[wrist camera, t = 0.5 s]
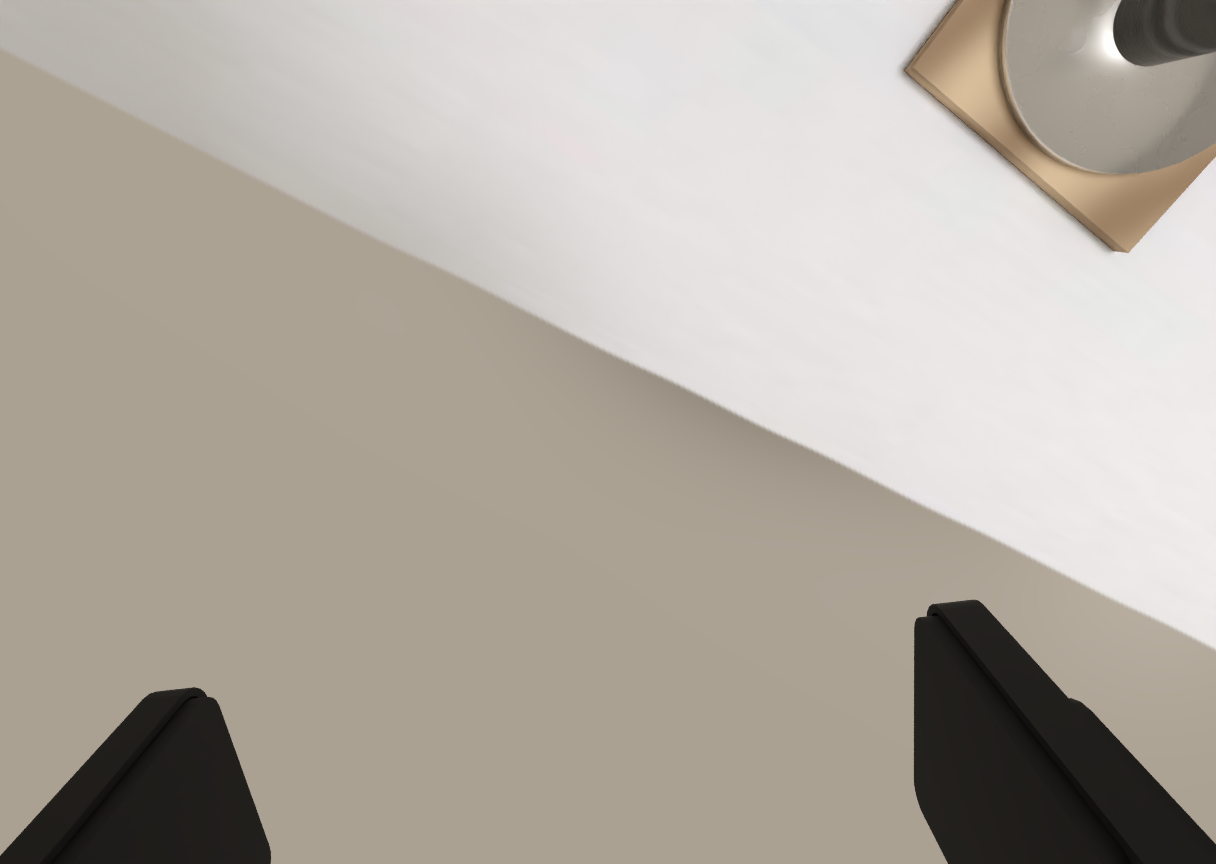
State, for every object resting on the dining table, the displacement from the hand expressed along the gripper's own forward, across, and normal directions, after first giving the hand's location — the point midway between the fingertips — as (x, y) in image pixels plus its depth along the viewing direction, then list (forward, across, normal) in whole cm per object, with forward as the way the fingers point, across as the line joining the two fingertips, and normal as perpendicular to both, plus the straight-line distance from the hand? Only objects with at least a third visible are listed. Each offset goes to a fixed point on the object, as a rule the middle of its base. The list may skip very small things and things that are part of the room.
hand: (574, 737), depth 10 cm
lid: (+28, -26, -11) cm, 39 cm away
